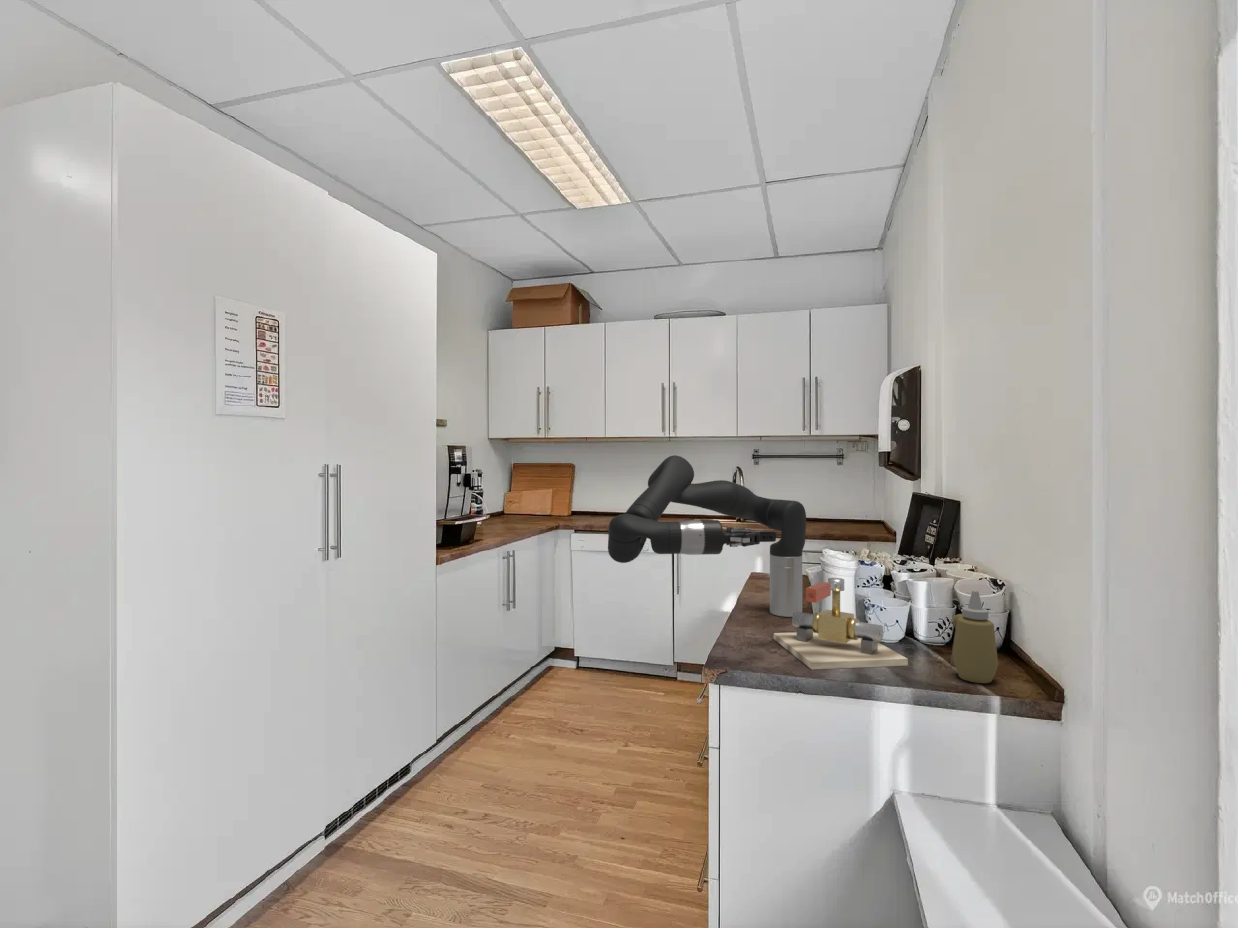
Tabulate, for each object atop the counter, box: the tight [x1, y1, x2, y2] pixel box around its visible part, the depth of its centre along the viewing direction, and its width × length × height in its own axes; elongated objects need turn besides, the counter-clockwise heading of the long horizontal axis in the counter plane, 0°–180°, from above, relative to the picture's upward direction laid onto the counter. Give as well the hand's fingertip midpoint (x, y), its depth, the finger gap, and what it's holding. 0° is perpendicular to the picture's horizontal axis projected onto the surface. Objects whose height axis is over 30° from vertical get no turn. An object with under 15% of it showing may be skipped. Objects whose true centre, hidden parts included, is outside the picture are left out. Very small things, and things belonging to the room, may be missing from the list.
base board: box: [773, 631, 909, 670], centre depth 140 cm, size 22×22×2 cm
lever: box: [805, 577, 845, 604], centre depth 134 cm, size 18×4×3 cm, turn 142°
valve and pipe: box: [791, 590, 884, 655], centre depth 140 cm, size 20×6×13 cm, turn 52°
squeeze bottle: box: [953, 590, 999, 684], centre depth 122 cm, size 8×8×18 cm
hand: (774, 536), depth 133 cm, fingers closed
